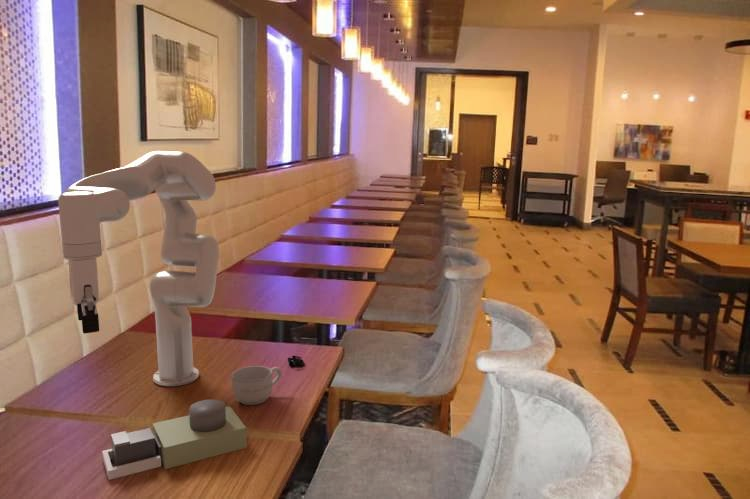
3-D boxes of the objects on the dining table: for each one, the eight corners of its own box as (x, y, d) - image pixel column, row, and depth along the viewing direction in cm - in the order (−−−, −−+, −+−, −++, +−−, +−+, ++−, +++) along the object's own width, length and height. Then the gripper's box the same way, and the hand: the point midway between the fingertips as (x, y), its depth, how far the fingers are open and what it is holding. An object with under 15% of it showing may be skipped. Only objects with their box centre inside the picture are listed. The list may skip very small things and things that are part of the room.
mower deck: (101, 455, 134) (98, 418, 132) (230, 425, 148) (229, 390, 146) (109, 483, 124) (106, 443, 122) (246, 447, 138) (245, 411, 136)
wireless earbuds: (305, 365, 182) (289, 361, 181) (302, 373, 183) (286, 368, 182) (303, 356, 189) (288, 352, 188) (301, 364, 190) (285, 359, 188)
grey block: (113, 462, 132) (111, 434, 130) (151, 452, 136) (149, 425, 134) (116, 473, 127) (114, 444, 126) (156, 463, 131) (154, 435, 130)
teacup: (238, 412, 155) (237, 383, 153) (227, 395, 164) (226, 368, 162) (289, 402, 161) (289, 374, 159) (276, 386, 170) (276, 359, 169)
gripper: (59, 243, 135) (66, 317, 139) (66, 259, 121) (73, 340, 124) (96, 241, 139) (101, 312, 142) (106, 255, 124) (112, 334, 128)
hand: (88, 325), depth 133 cm, fingers open, 9 cm apart
